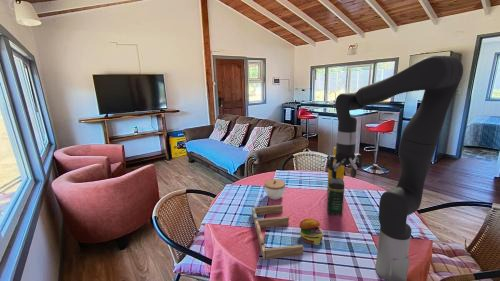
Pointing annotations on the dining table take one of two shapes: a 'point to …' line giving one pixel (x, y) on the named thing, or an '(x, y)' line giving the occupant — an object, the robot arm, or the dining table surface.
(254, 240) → the dining table surface
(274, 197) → the lidded bowl
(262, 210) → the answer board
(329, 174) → the beer bottle
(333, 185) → the coffee jar
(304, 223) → the cheeseburger
